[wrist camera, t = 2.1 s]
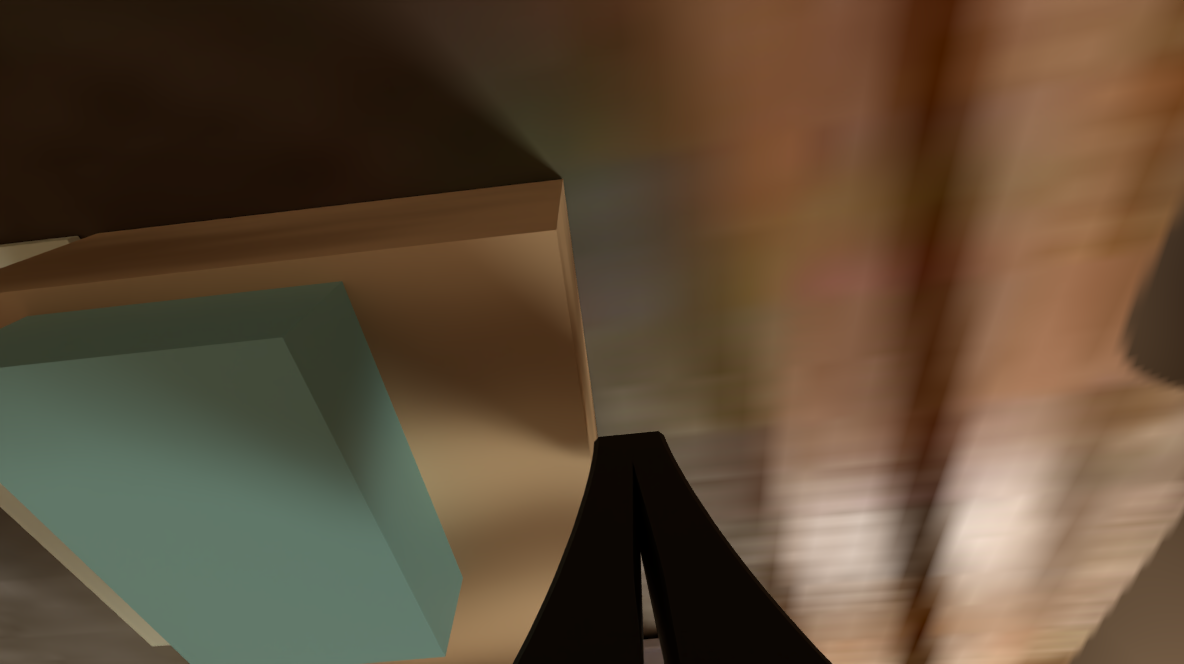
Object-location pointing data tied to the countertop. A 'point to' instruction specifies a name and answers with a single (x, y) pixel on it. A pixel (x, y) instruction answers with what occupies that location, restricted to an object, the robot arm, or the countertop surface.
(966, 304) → the countertop surface
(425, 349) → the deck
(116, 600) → the mat
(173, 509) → the sage green box
